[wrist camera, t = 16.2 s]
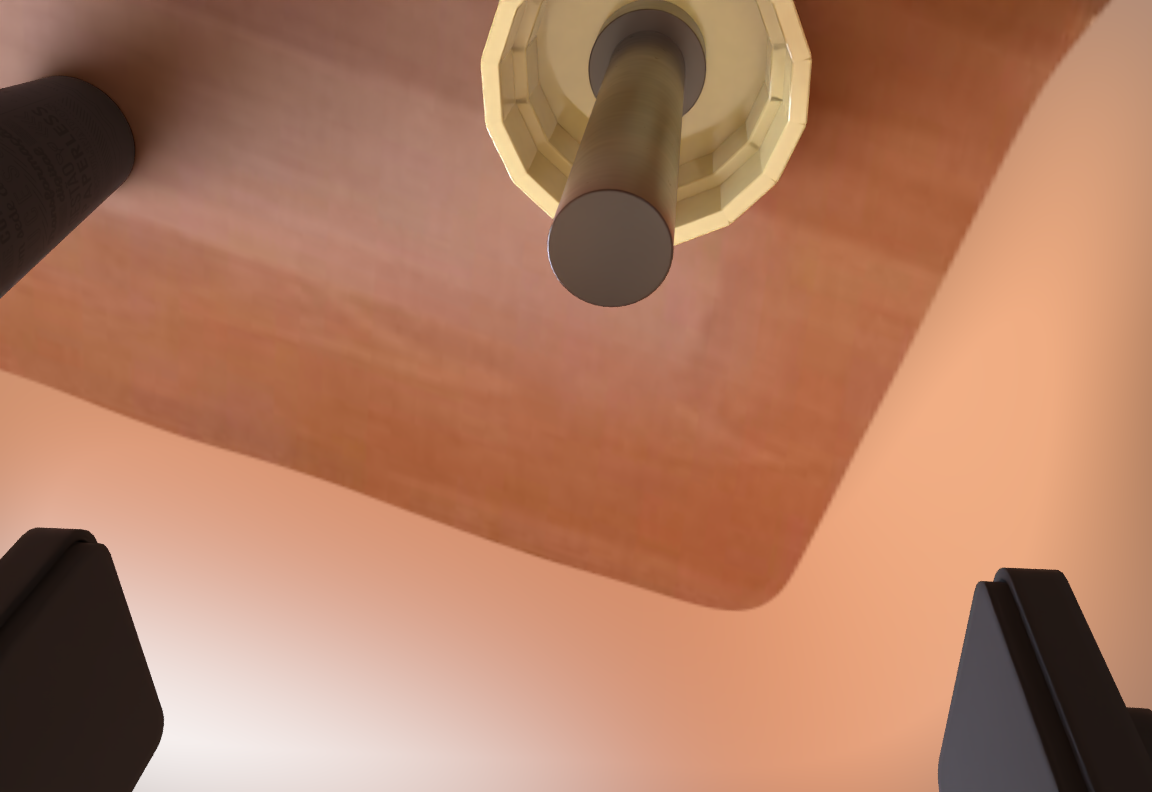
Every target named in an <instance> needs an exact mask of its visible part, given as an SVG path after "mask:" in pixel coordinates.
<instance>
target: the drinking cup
mask: <svg viewBox="0 0 1152 792" xmlns="http://www.w3.org/2000/svg"><path fill="white" fill-rule="evenodd" d="M134 157H135V147H134V140H133V136H132V132H131V129H130V127H129V124H128V122H127V121H126V119H125V117H124V115H123V114H122V112H121V111H120V109H119V108H118V107H117V106H116V104H115V103H114V102H113V101H112V100H111V99H110V98H109V97H108V96H107V95H106V94H104V93H103V92H102V91H100V90H99V89H98V88H96V87H94V86H93V85H91V84H89V83H87V82H85V81H82V80H79V79H76V78H72V77H67V76H52V77H47V78H43V79H39V80H35V81H31V82H27V83H23V84H18V85H14V86H10V87H6V88H2V89H0V298H1V297H2V296H3V295H5V294H6V293H7V292H8V291H9V290H10V289H11V288H12V287H13V286H14V285H15V284H16V283H17V282H18V281H19V280H20V279H22V278H23V277H24V276H25V275H26V274H27V273H28V272H29V271H30V270H31V269H32V268H33V267H34V266H35V265H36V264H38V263H39V262H40V261H41V260H42V259H43V258H44V257H45V256H46V255H47V254H48V253H49V252H50V251H51V250H52V249H53V248H55V247H56V246H57V245H58V244H59V243H60V242H61V241H62V240H63V239H64V238H65V237H66V236H67V235H68V234H69V233H70V232H72V231H73V230H74V229H75V228H76V227H77V226H78V225H79V224H80V223H81V222H82V221H83V220H84V219H85V218H86V217H87V216H89V215H90V214H91V213H92V212H93V211H94V210H95V209H96V208H97V207H98V206H99V205H100V204H101V203H102V202H103V201H104V200H106V199H107V198H108V197H109V196H110V195H111V194H112V193H113V192H114V191H115V190H116V189H117V188H118V187H119V186H120V185H121V184H122V183H123V182H124V181H125V180H126V179H127V177H128V176H129V174H130V172H131V170H132V167H133V163H134Z"/></svg>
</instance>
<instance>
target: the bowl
mask: <svg viewBox="0 0 1152 792" xmlns="http://www.w3.org/2000/svg"><path fill="white" fill-rule="evenodd" d="M634 1H637V0H500V1H499V4H498V7H497V10H496V13H495V16H494V20H493V23H492V26H491V29H490V32H489V35H488V38H487V42H486V45H485V48H484V51H483V54H482V57H481V76H482V89H483V102H484V114H485V124H486V128H487V130H488V132H489V134H490V137H491V139H492V141H493V143H494V145H495V147H496V149H497V151H498V153H499V155H500V157H501V159H502V161H503V163H504V165H505V167H506V169H507V171H508V173H509V175H510V177H511V180H512V181H513V182H514V184H515V185H516V186H517V187H519V188H520V189H521V190H522V191H523V192H524V193H525V194H526V195H527V196H528V197H529V198H530V199H532V200H533V201H534V202H535V203H536V204H537V205H538V206H539V207H540V208H541V209H542V210H543V211H545V212H546V213H547V214H548V215H549V216H550V217H551V218H552V219H554V216H555V213H556V211H557V208H558V205H559V202H560V199H561V196H562V194H563V191H564V188H565V185H566V182H567V180H568V177H569V174H570V171H571V168H572V166H573V163H574V160H575V157H576V154H577V151H578V149H579V146H580V143H581V140H582V137H583V135H584V132H585V129H586V126H587V123H588V120H589V118H590V115H591V112H592V109H593V106H594V104H595V101H596V98H595V96H594V94H593V92H592V89H591V86H590V81H589V73H588V66H589V58H590V54H591V50H592V47H593V45H594V43H595V40H596V38H597V36H598V34H599V31H600V29H601V28H602V26H603V24H604V23H605V22H606V20H607V19H608V18H609V17H610V16H611V15H612V14H613V13H614V12H615V11H617V10H618V9H619V8H621V7H622V6H624V5H626V4H628V3H631V2H634ZM664 1H667V2H670V3H673V4H675V5H677V6H679V7H680V8H682V9H683V10H684V11H686V12H687V13H688V14H689V15H690V16H691V17H692V18H693V20H694V21H695V22H696V24H697V25H698V27H699V29H700V31H701V33H702V35H703V39H704V42H705V48H706V78H705V83H704V86H703V89H702V92H701V94H700V96H699V98H698V100H697V101H696V103H695V104H694V106H693V107H692V108H691V109H690V110H689V112H688V113H686V114H685V115H684V116H683V117H682V129H681V144H680V159H679V174H678V189H677V204H676V219H675V234H674V246H675V245H678V244H681V243H683V242H686V241H689V240H691V239H694V238H697V237H699V236H702V235H705V234H707V233H710V232H713V231H715V230H718V229H721V228H723V227H726V226H729V225H730V223H733V222H734V221H735V220H736V219H738V218H739V217H740V216H741V215H742V214H743V213H744V212H745V211H746V210H748V209H749V208H750V207H751V206H752V205H753V204H754V203H755V202H757V201H758V200H759V199H760V198H761V197H762V196H763V195H764V194H765V193H767V192H768V191H769V190H770V189H771V188H772V187H773V186H774V185H776V183H777V182H778V181H779V179H780V177H781V175H782V173H783V171H784V169H785V167H786V165H787V163H788V161H789V159H790V157H791V155H792V153H793V151H794V149H795V147H796V145H797V143H798V141H799V139H800V137H801V135H802V133H803V131H804V129H805V127H806V123H807V117H808V105H809V92H810V79H811V67H812V58H811V52H810V49H809V46H808V43H807V40H806V37H805V34H804V31H803V28H802V25H801V22H800V19H799V16H798V13H797V10H796V7H795V4H794V1H793V0H664Z"/></svg>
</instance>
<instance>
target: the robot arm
mask: <svg viewBox="0 0 1152 792" xmlns="http://www.w3.org/2000/svg"><path fill="white" fill-rule="evenodd" d="M163 726H164V716H163V711H162V708H161V705H160V702H159V699H158V696H157V693H156V690H155V686H154V683H153V681H152V677H151V674H150V671H149V669H148V666H147V662H146V659H145V656H144V653H143V650H142V647H141V644H140V642H139V639H138V635H137V632H136V629H135V626H134V623H133V621H132V617H131V614H130V611H129V608H128V605H127V602H126V599H125V596H124V593H123V590H122V587H121V584H120V581H119V578H118V575H117V572H116V569H115V566H114V563H113V560H112V557H111V554H110V552H109V550H108V548H107V547H106V546H105V545H104V544H100V543H97V541H96V539H95V537H94V535H92V534H91V533H90V532H89V531H87V530H82V529H58V528H34V529H31V530H29V531H27V532H26V533H25V534H24V535H22V536H21V538H20V539H19V540H18V541H17V542H16V543H15V544H14V545H13V546H12V547H11V548H10V549H9V551H8V552H7V553H6V554H5V555H4V556H3V557H2V558H1V559H0V792H132V791H133V789H134V787H135V785H136V784H137V782H138V780H139V778H140V776H141V775H142V773H143V772H144V770H145V768H146V766H147V764H148V763H149V761H150V759H151V758H152V756H153V754H154V752H155V751H156V749H157V747H158V745H159V743H160V740H161V737H162V733H163ZM938 784H939V792H1152V711H1151V710H1150V709H1144V708H1128V707H1126V706H1125V703H1124V701H1123V699H1122V697H1121V695H1120V693H1119V691H1118V688H1117V686H1116V684H1115V682H1114V680H1113V678H1112V676H1111V673H1110V671H1109V669H1108V667H1107V665H1106V662H1105V660H1104V658H1103V656H1102V654H1101V652H1100V650H1099V647H1098V645H1097V643H1096V641H1095V639H1094V637H1093V634H1092V632H1091V630H1090V628H1089V626H1088V624H1087V622H1086V619H1085V617H1084V615H1083V613H1082V611H1081V609H1080V606H1079V605H1078V602H1077V600H1076V598H1075V596H1074V594H1073V591H1072V589H1071V587H1070V585H1069V583H1068V581H1067V579H1066V577H1065V576H1064V574H1063V573H1062V572H1060V571H1059V570H1046V569H1022V568H1001V569H999V570H998V572H997V573H996V575H995V578H994V581H993V582H987V581H980V582H978V584H977V585H976V588H975V591H974V596H973V601H972V605H971V610H970V615H969V620H968V624H967V629H966V634H965V639H964V643H963V648H962V653H961V658H960V662H959V667H958V672H957V677H956V682H955V686H954V691H953V696H952V700H951V705H950V710H949V715H948V720H947V724H946V729H945V734H944V738H943V743H942V748H941V753H940V757H939V764H938Z"/></svg>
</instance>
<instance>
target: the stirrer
mask: <svg viewBox="0 0 1152 792" xmlns="http://www.w3.org/2000/svg"><path fill="white" fill-rule="evenodd" d="M588 73H589V81H590V86H591V89H592V92H593V94H594V96H595V98H596V101H595V104H594V106H593V109H592V112H591V115H590V118H589V120H588V123H587V126H586V129H585V132H584V135H583V137H582V140H581V143H580V146H579V149H578V151H577V154H576V157H575V160H574V163H573V166H572V168H571V171H570V174H569V177H568V180H567V182H566V185H565V188H564V191H563V194H562V196H561V199H560V202H559V205H558V208H557V211H556V213H555V216H554V219H553V222H552V225H551V228H550V231H549V235H548V241H547V251H548V258H549V262H550V265H551V267H552V270H553V272H554V274H555V275H556V277H557V279H558V280H559V281H560V283H561V284H562V285H563V286H564V287H565V288H566V289H567V290H568V291H569V292H570V293H572V294H573V295H574V296H576V297H578V298H579V299H581V300H583V301H585V302H587V303H591V304H594V305H598V306H603V307H620V306H626V305H630V304H633V303H636V302H638V301H640V300H642V299H644V298H646V297H648V296H649V295H650V294H652V293H653V292H654V291H655V290H656V289H657V288H658V287H659V286H660V285H661V284H662V282H663V281H664V280H665V278H666V276H667V274H668V272H669V270H670V267H671V264H672V259H673V249H674V234H675V219H676V204H677V189H678V174H679V159H680V144H681V129H682V117H683V116H684V115H685V114H686V113H688V112H689V110H690V109H691V108H692V107H693V106H694V104H695V103H696V101H697V100H698V98H699V96H700V94H701V92H702V89H703V86H704V83H705V78H706V48H705V42H704V39H703V35H702V33H701V31H700V29H699V27H698V25H697V24H696V22H695V21H694V20H693V18H692V17H691V16H690V15H689V14H688V13H687V12H686V11H684V10H683V9H682V8H680V7H679V6H677V5H675V4H673V3H670V2H667V1H664V0H637V1H634V2H631V3H628V4H626V5H624V6H622V7H621V8H619V9H618V10H617V11H615V12H614V13H613V14H612V15H611V16H610V17H609V18H608V19H607V20H606V22H605V23H604V24H603V26H602V28H601V29H600V31H599V34H598V36H597V38H596V40H595V43H594V45H593V47H592V50H591V54H590V58H589V66H588Z"/></svg>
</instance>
